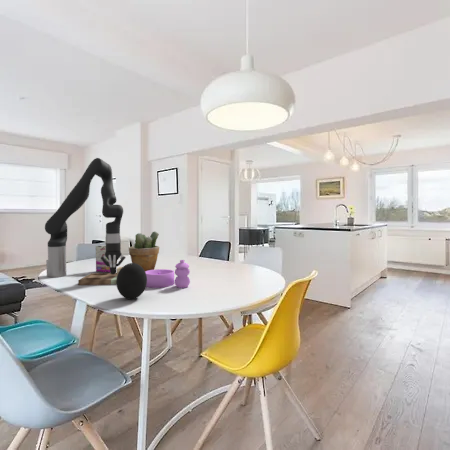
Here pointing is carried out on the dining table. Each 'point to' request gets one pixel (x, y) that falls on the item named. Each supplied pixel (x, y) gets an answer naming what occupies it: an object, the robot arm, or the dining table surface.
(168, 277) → the container set
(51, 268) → the robot arm
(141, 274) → the decorative egg
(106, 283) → the board
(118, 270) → the block
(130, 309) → the dining table surface
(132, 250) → the potted plant
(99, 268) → the candy bar box
